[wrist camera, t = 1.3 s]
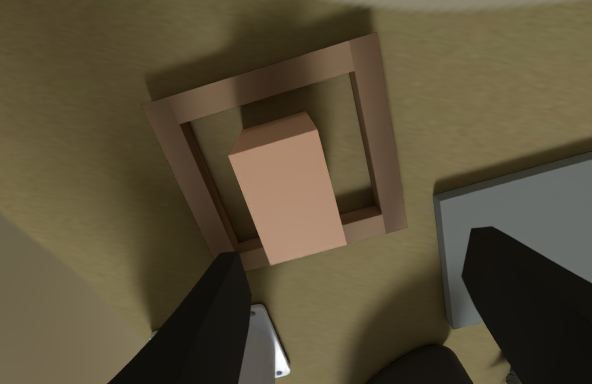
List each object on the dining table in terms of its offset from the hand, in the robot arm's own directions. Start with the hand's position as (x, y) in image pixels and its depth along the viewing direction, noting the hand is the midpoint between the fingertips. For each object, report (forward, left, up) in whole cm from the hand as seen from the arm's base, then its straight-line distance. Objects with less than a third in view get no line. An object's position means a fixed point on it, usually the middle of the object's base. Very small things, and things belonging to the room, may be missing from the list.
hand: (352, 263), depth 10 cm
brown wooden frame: (-2, 0, -11) cm, 11 cm away
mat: (+13, -11, -11) cm, 20 cm away
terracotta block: (-2, 0, -11) cm, 11 cm away
